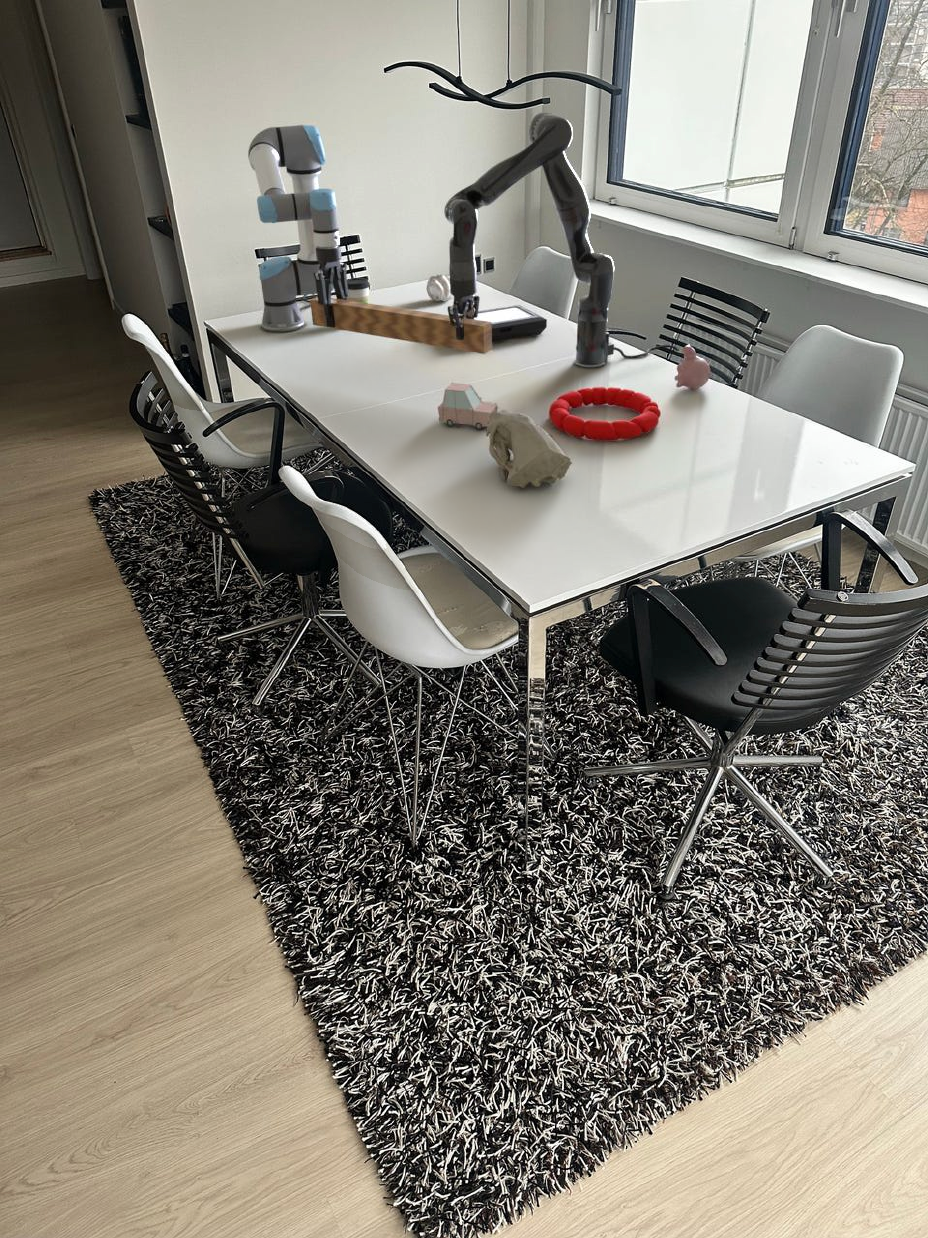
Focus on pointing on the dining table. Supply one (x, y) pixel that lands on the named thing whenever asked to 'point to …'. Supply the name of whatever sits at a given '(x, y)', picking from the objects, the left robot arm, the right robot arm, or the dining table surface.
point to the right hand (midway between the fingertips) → (465, 336)
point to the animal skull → (525, 450)
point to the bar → (405, 325)
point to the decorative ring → (604, 428)
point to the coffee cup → (358, 290)
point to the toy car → (465, 406)
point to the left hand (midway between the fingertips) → (336, 323)
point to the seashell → (439, 288)
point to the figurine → (692, 370)
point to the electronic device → (512, 322)
